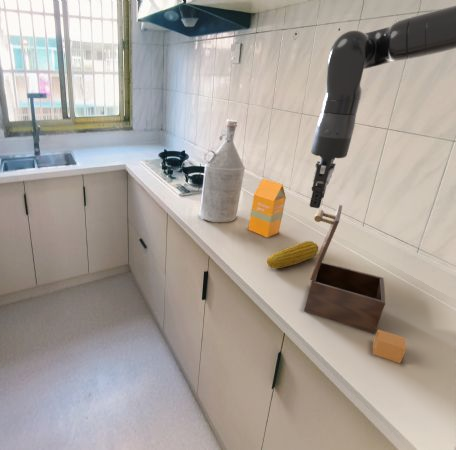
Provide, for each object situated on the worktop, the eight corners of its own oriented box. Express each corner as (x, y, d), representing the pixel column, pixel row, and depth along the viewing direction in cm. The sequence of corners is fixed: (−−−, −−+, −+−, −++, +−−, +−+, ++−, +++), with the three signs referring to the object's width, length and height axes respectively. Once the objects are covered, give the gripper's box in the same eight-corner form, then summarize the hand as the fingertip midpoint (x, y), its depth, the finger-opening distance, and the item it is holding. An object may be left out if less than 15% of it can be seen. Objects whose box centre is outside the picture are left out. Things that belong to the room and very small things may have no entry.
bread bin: (373, 305, 90) (383, 277, 86) (373, 333, 80) (385, 303, 76) (310, 287, 97) (317, 260, 93) (303, 310, 86) (311, 281, 83)
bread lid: (342, 205, 85) (321, 199, 87) (339, 221, 75) (315, 214, 77) (319, 259, 93) (300, 252, 95) (313, 281, 83) (292, 273, 85)
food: (304, 252, 116) (308, 236, 114) (318, 259, 112) (323, 243, 109) (261, 266, 106) (264, 250, 104) (275, 275, 102) (279, 258, 99)
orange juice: (259, 224, 137) (268, 177, 129) (279, 232, 130) (289, 182, 122) (247, 229, 132) (255, 180, 124) (267, 237, 126) (276, 186, 118)
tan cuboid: (398, 351, 74) (404, 337, 73) (400, 363, 71) (406, 349, 70) (372, 342, 77) (378, 329, 75) (372, 354, 73) (378, 339, 72)
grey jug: (192, 213, 145) (200, 117, 129) (227, 210, 151) (240, 117, 135) (205, 225, 134) (216, 121, 118) (243, 221, 140) (258, 121, 124)
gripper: (350, 140, 68) (330, 214, 75) (353, 132, 80) (335, 197, 86) (310, 136, 72) (295, 207, 78) (318, 129, 83) (304, 191, 89)
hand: (316, 202), depth 82 cm, fingers open, 8 cm apart
